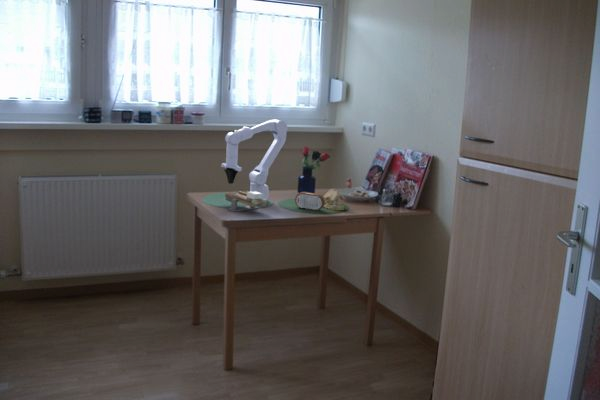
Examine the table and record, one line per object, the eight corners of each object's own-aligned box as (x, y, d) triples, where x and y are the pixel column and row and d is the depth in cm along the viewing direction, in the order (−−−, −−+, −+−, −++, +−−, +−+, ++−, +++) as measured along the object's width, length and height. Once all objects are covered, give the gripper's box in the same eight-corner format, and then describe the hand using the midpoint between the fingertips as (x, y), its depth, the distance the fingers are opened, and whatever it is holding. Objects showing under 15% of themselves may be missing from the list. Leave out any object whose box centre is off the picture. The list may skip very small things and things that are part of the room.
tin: (324, 210, 303) (325, 194, 301) (322, 211, 300) (323, 195, 298) (296, 206, 307) (297, 190, 306) (293, 208, 304) (294, 191, 303)
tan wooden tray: (240, 198, 303) (240, 189, 302) (268, 208, 288) (268, 199, 287) (224, 200, 297) (224, 191, 296) (252, 210, 281) (252, 200, 280)
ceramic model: (317, 205, 315) (318, 186, 313) (335, 204, 320) (337, 185, 318) (331, 211, 303) (332, 191, 301) (350, 210, 308) (351, 190, 306)
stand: (251, 206, 301) (251, 195, 299) (257, 208, 297) (258, 197, 296) (228, 209, 291) (228, 198, 290) (234, 211, 288) (235, 200, 286)
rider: (254, 199, 291) (255, 191, 290) (262, 202, 286) (263, 193, 285) (246, 200, 287) (247, 191, 286) (254, 203, 283) (254, 194, 282)
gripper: (216, 154, 305) (215, 181, 307) (234, 158, 294) (232, 186, 297) (228, 154, 309) (227, 180, 312) (245, 158, 299) (244, 185, 302)
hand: (230, 183), depth 305 cm, fingers closed
